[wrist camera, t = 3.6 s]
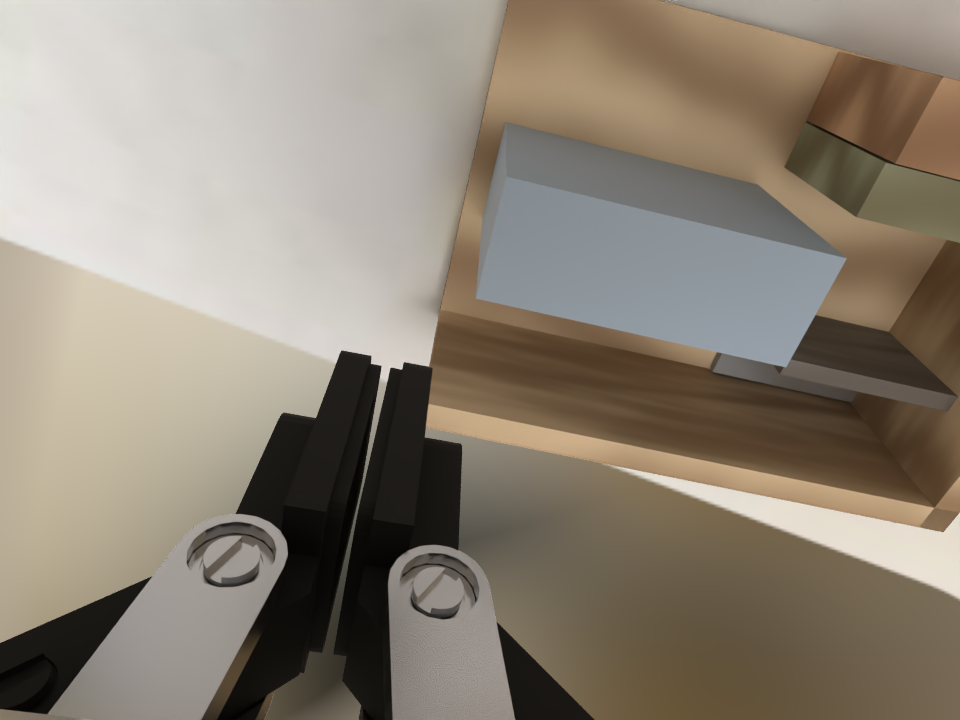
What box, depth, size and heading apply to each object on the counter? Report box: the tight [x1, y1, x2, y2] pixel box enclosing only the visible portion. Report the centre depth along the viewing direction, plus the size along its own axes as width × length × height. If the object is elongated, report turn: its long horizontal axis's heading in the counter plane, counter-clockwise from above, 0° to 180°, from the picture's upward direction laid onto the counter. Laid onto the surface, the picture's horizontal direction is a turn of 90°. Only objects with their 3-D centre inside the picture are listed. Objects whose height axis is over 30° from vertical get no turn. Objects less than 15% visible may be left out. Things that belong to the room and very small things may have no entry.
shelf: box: [426, 0, 960, 532], centre depth 28 cm, size 17×24×10 cm
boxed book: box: [476, 122, 847, 367], centre depth 27 cm, size 4×12×9 cm, turn 77°
